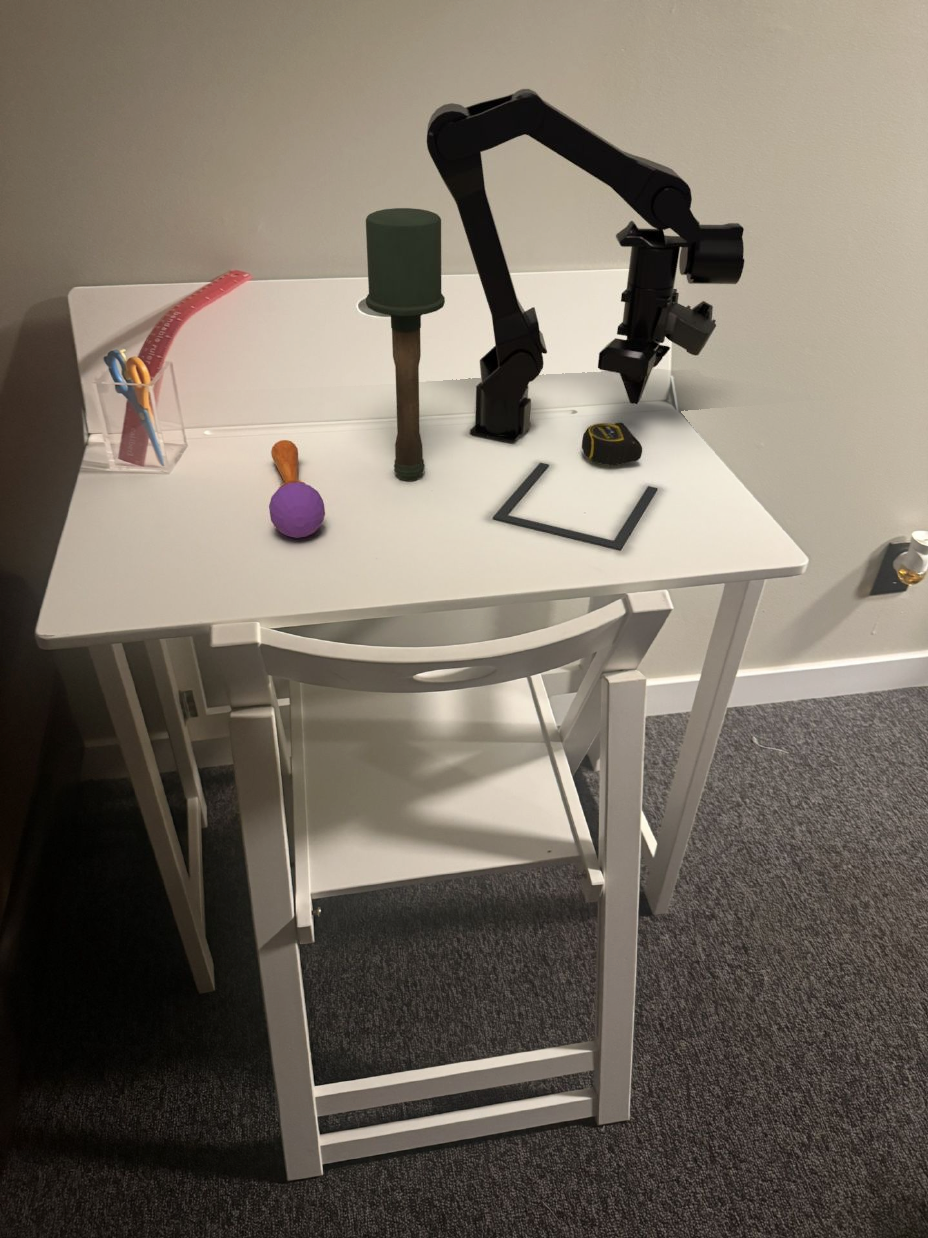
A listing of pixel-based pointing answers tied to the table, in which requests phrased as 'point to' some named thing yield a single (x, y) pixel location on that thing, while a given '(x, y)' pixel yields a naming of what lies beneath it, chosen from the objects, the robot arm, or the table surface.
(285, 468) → the purple maraca
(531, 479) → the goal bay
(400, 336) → the potato masher grenade
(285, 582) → the table surface
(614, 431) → the tape measure
